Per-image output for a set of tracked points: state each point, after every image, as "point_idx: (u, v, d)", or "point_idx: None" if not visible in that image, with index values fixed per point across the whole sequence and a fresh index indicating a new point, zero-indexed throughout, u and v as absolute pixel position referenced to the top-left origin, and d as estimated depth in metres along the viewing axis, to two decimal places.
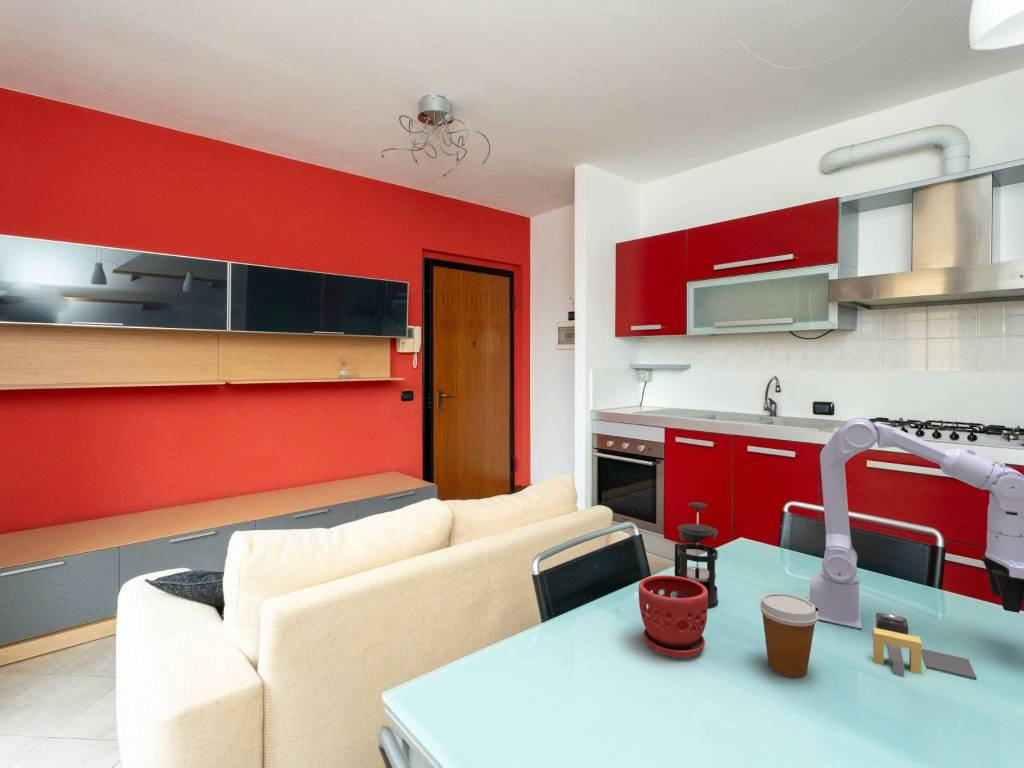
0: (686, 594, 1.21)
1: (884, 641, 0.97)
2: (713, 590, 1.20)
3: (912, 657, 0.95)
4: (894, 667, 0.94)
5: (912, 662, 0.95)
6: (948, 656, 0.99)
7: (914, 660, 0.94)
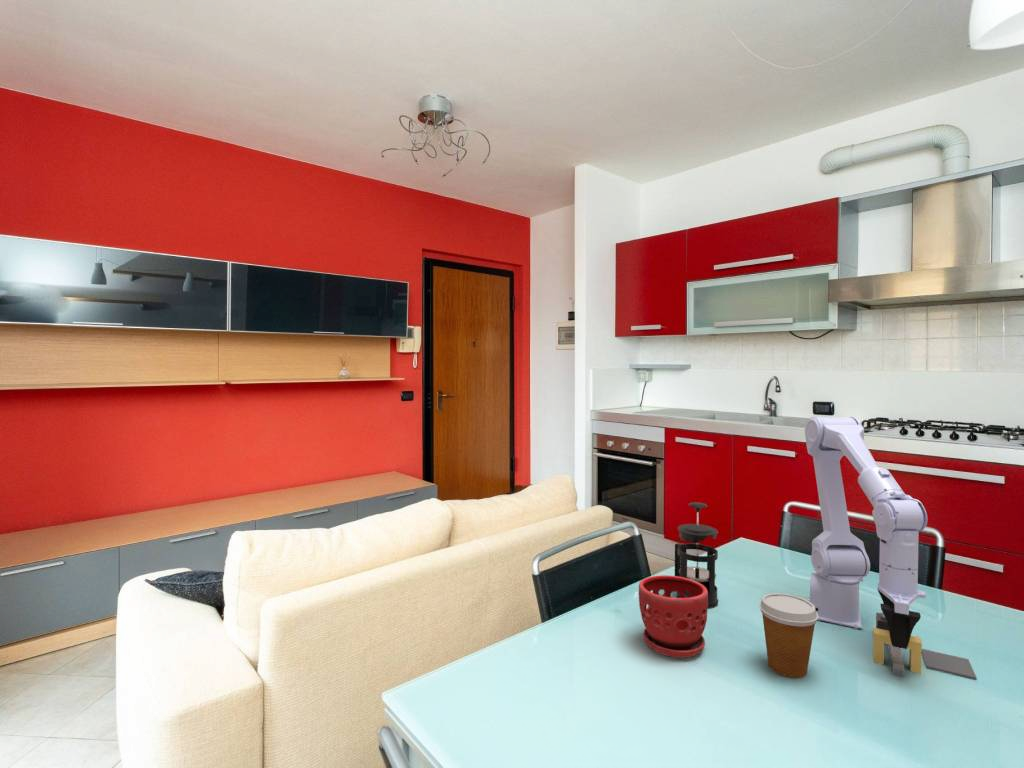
0: (686, 594, 1.21)
1: (884, 641, 0.97)
2: (713, 590, 1.20)
3: (912, 657, 0.95)
4: (894, 667, 0.94)
5: (912, 662, 0.95)
6: (948, 656, 0.99)
7: (914, 660, 0.94)
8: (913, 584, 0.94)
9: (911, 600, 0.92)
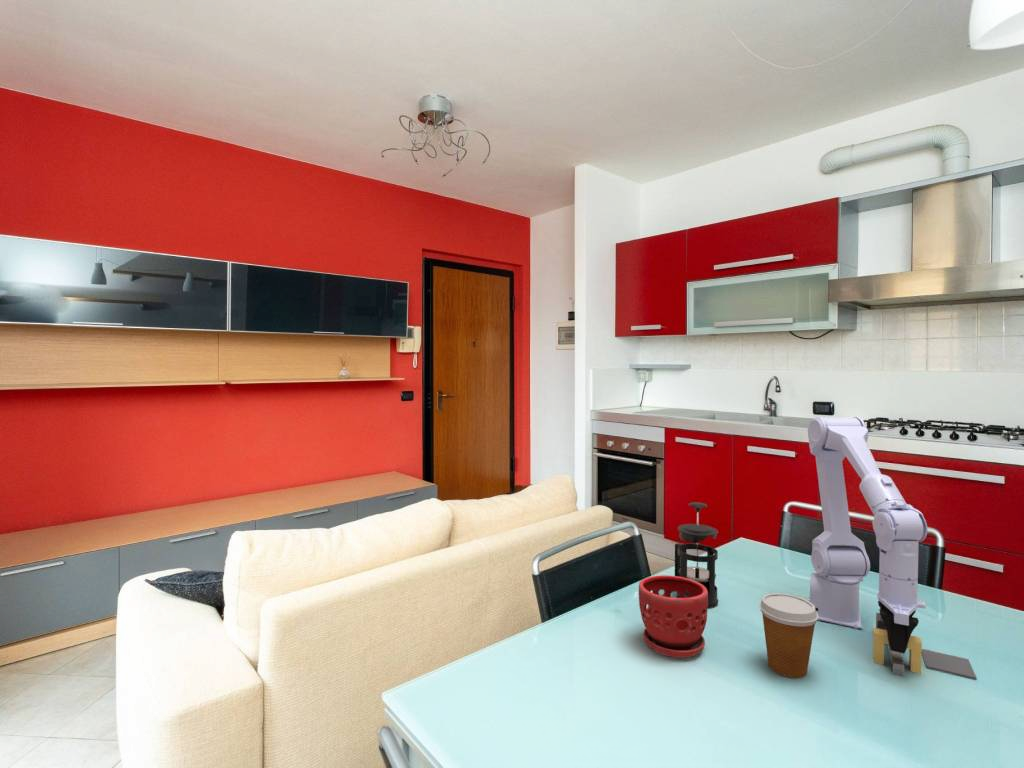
0: (686, 594, 1.21)
1: (884, 641, 0.97)
2: (713, 590, 1.20)
3: (912, 657, 0.95)
4: (894, 667, 0.94)
5: (912, 662, 0.95)
6: (948, 656, 0.99)
7: (914, 660, 0.94)
8: (913, 595, 0.94)
9: (911, 611, 0.92)
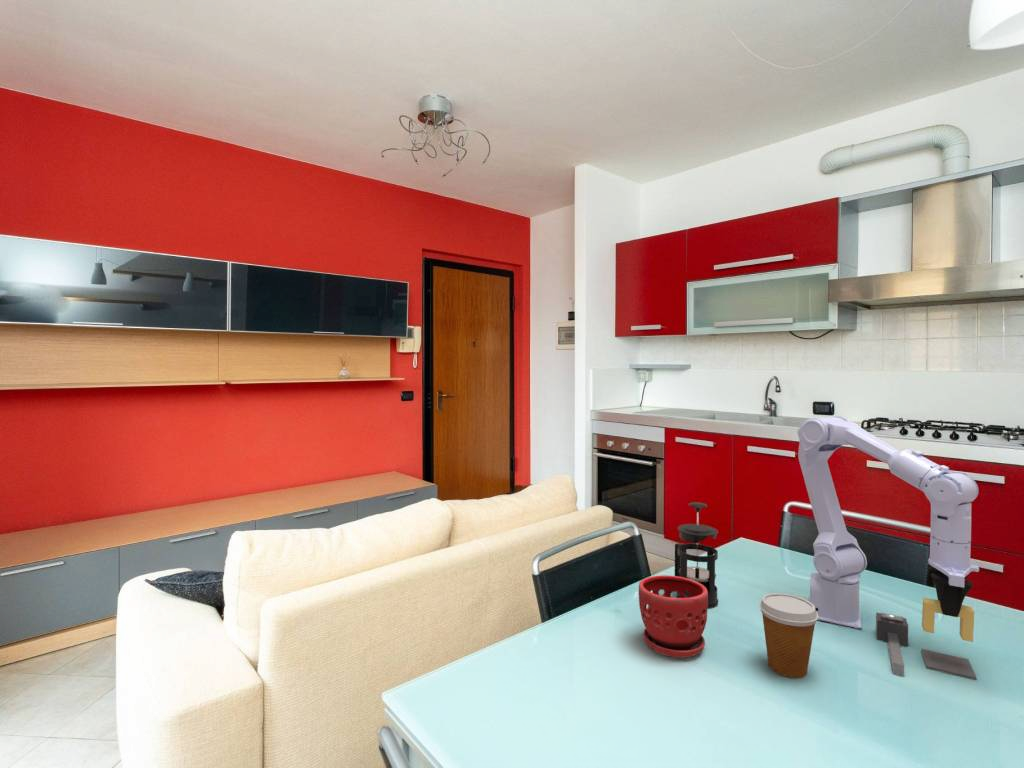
0: (686, 594, 1.21)
1: (935, 610, 0.97)
2: (713, 590, 1.20)
3: (964, 626, 0.94)
4: (894, 667, 0.94)
5: (964, 631, 0.94)
6: (948, 656, 0.99)
7: (966, 629, 0.94)
8: (966, 558, 0.94)
9: (965, 573, 0.92)
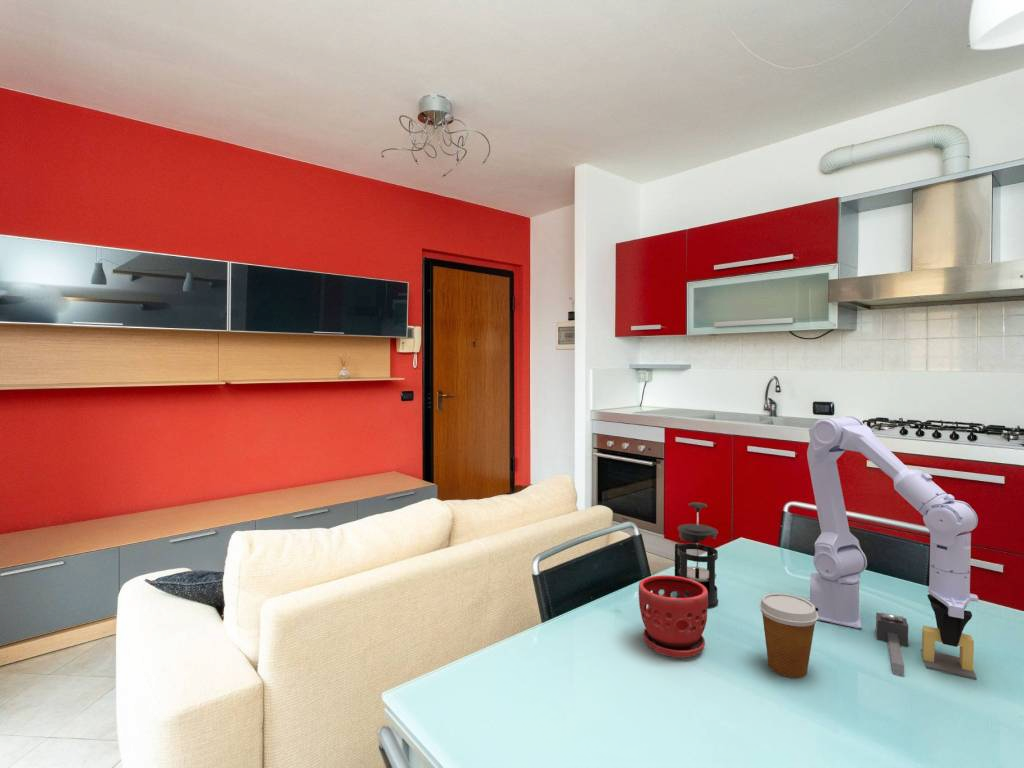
0: (686, 594, 1.21)
1: (934, 639, 0.97)
2: (713, 590, 1.20)
3: (964, 655, 0.95)
4: (894, 667, 0.94)
5: (964, 660, 0.95)
6: (948, 656, 0.99)
7: (966, 658, 0.94)
8: (965, 588, 0.94)
9: (965, 604, 0.92)
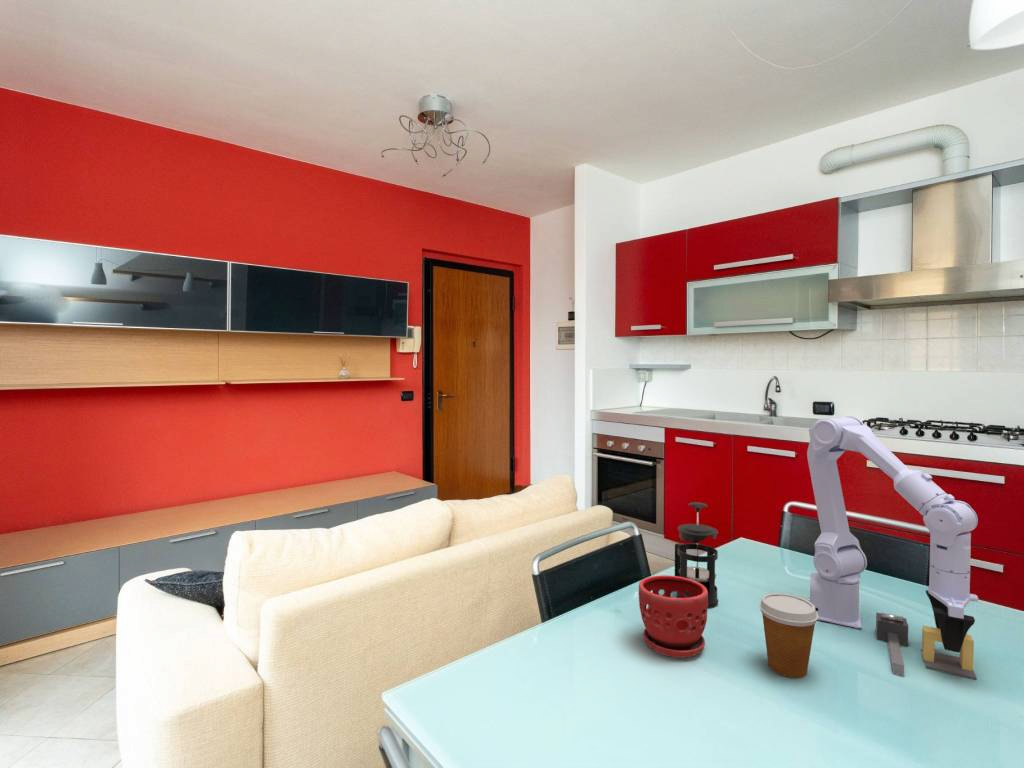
0: (686, 594, 1.21)
1: (934, 639, 0.97)
2: (713, 590, 1.20)
3: (964, 655, 0.95)
4: (894, 667, 0.94)
5: (964, 660, 0.95)
6: (948, 656, 0.99)
7: (966, 658, 0.94)
8: (965, 588, 0.94)
9: (965, 604, 0.92)
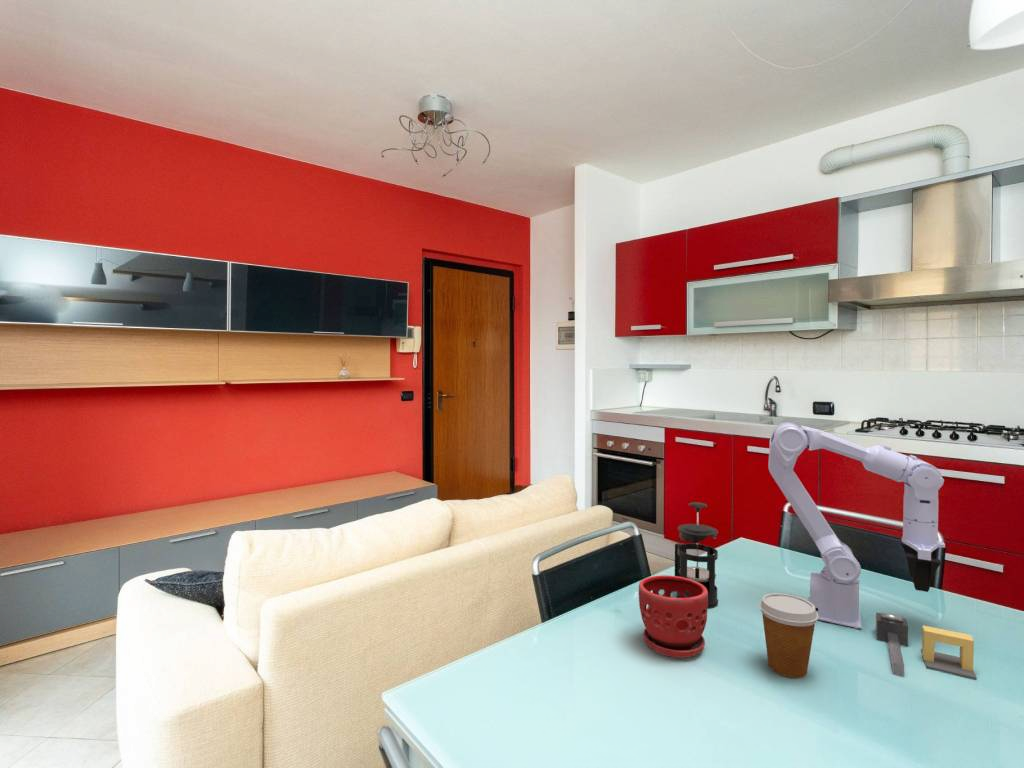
0: (686, 594, 1.21)
1: (934, 639, 0.97)
2: (713, 590, 1.20)
3: (964, 655, 0.95)
4: (894, 667, 0.94)
5: (964, 660, 0.95)
6: (948, 656, 0.99)
7: (966, 658, 0.94)
8: (933, 535, 1.06)
9: (932, 548, 1.04)
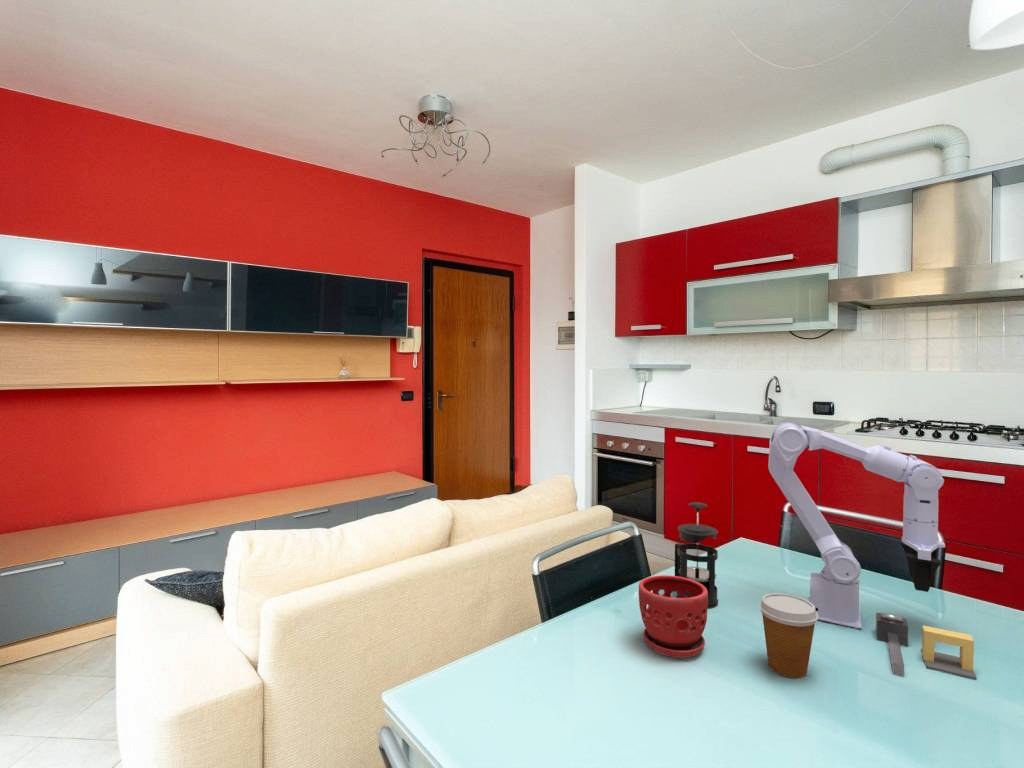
0: (686, 594, 1.21)
1: (934, 639, 0.97)
2: (713, 590, 1.20)
3: (964, 655, 0.95)
4: (894, 667, 0.94)
5: (964, 660, 0.95)
6: (948, 656, 0.99)
7: (966, 658, 0.94)
8: (933, 535, 1.06)
9: (932, 548, 1.04)
